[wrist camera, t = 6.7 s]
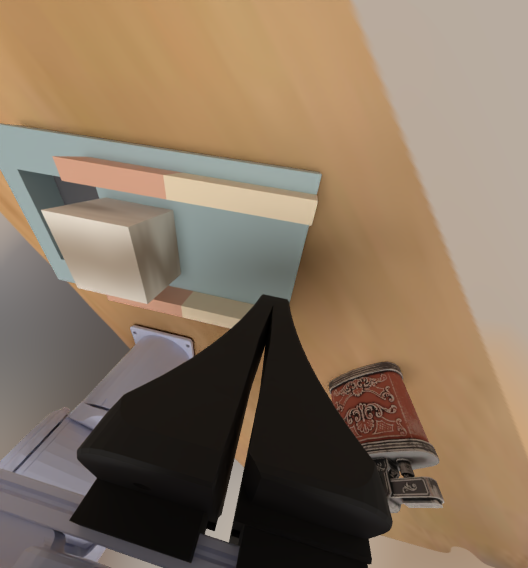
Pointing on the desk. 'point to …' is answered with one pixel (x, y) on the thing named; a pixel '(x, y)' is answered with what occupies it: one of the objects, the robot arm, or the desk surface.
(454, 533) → the desk surface
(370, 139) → the desk surface
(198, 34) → the desk surface
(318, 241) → the desk surface
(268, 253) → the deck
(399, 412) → the lighter
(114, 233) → the block
